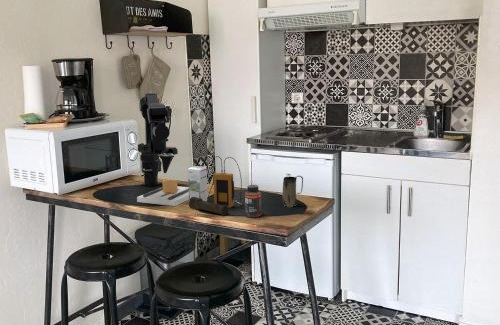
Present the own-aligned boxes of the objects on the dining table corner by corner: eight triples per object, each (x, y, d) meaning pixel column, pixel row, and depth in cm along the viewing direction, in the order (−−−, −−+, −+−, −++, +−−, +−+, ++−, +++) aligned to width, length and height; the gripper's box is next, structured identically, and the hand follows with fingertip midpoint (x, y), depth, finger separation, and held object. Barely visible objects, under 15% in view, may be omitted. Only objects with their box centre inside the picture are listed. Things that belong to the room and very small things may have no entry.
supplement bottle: (260, 213, 189) (260, 183, 187) (262, 217, 184) (262, 187, 181) (244, 213, 189) (244, 184, 187) (246, 218, 183) (245, 188, 181)
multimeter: (248, 202, 205) (248, 153, 201) (240, 208, 195) (239, 157, 191) (215, 199, 209) (213, 151, 205) (205, 206, 200) (203, 156, 196)
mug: (280, 206, 198) (280, 176, 195) (284, 202, 203) (284, 173, 200) (300, 208, 195) (300, 177, 193) (304, 204, 200) (304, 174, 198)
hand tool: (229, 214, 189) (229, 202, 188) (222, 217, 186) (222, 204, 185) (194, 206, 201) (194, 194, 200) (187, 208, 198) (186, 196, 197)
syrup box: (208, 201, 207) (207, 166, 204) (200, 205, 201) (199, 169, 199) (196, 200, 209) (194, 165, 206) (188, 203, 204) (187, 168, 201)
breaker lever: (165, 190, 215) (164, 179, 214) (177, 192, 213) (177, 180, 212) (162, 191, 214) (162, 180, 213) (175, 193, 211) (174, 181, 210)
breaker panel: (166, 189, 227) (166, 182, 227) (201, 193, 220) (201, 185, 220) (137, 201, 207) (136, 194, 207) (175, 206, 200) (174, 198, 200)
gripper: (154, 132, 214) (156, 169, 217) (127, 138, 198) (130, 178, 201) (177, 133, 210) (179, 170, 213) (151, 140, 193) (153, 180, 196)
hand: (160, 174), depth 206 cm, fingers open, 6 cm apart
